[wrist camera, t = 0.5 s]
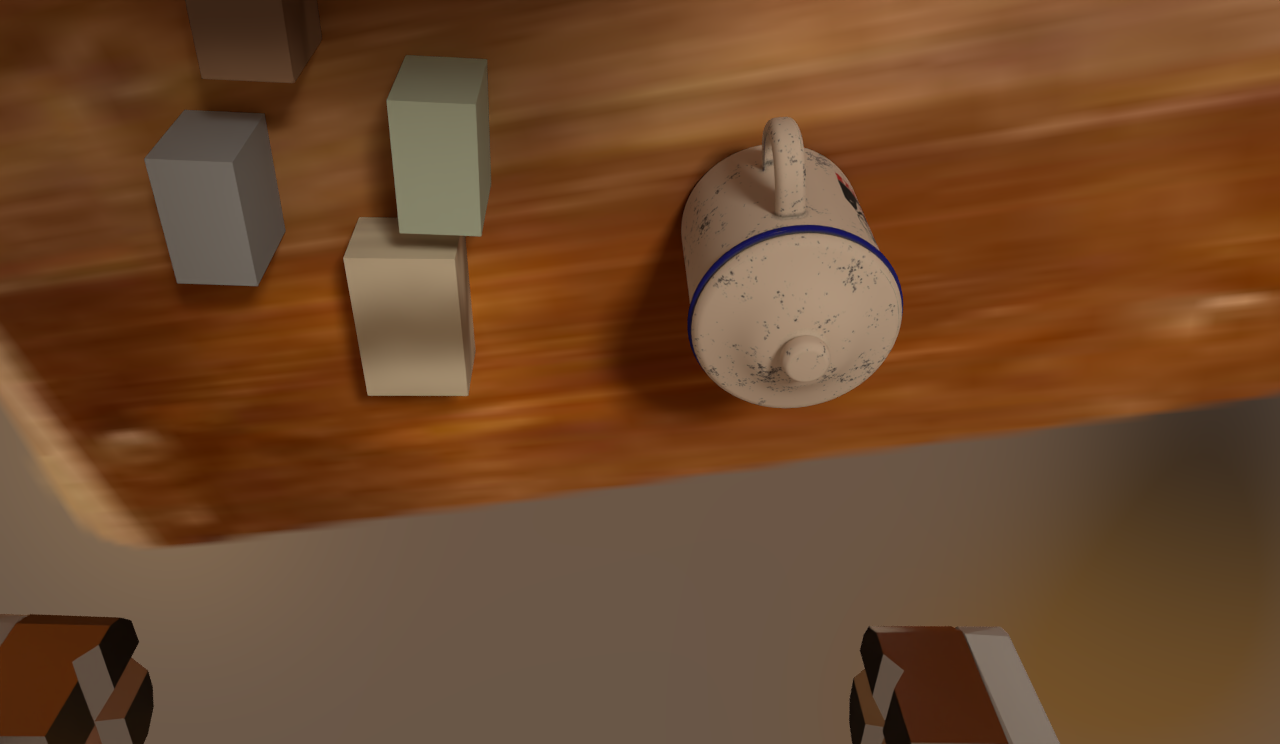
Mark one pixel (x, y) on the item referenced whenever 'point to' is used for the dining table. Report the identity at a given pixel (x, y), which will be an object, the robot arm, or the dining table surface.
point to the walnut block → (254, 38)
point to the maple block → (410, 310)
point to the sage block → (440, 145)
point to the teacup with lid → (785, 276)
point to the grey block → (217, 197)
